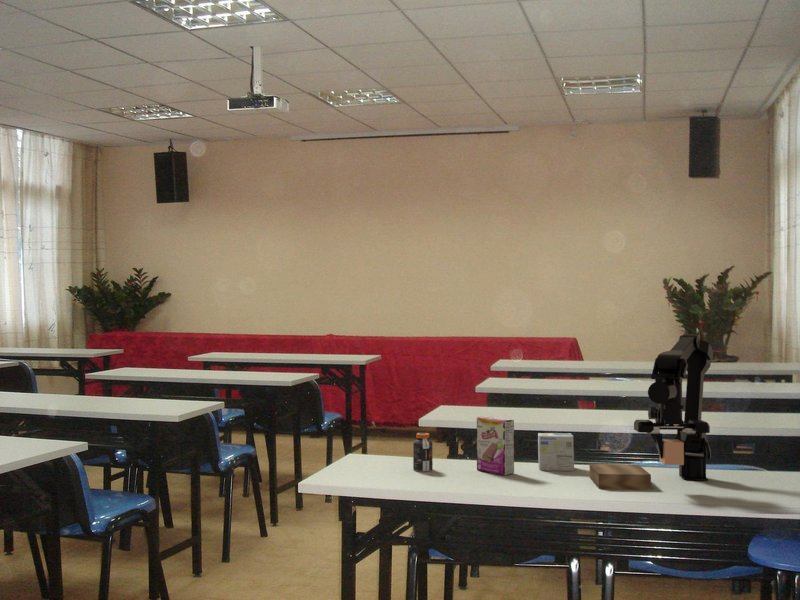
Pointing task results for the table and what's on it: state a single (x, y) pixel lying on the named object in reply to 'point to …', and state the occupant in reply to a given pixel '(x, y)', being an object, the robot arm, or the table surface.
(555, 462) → the light bulb box
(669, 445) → the terracotta block
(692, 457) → the robot arm
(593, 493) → the table surface
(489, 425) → the candy bar box
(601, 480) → the walnut plinth
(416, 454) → the pill bottle
